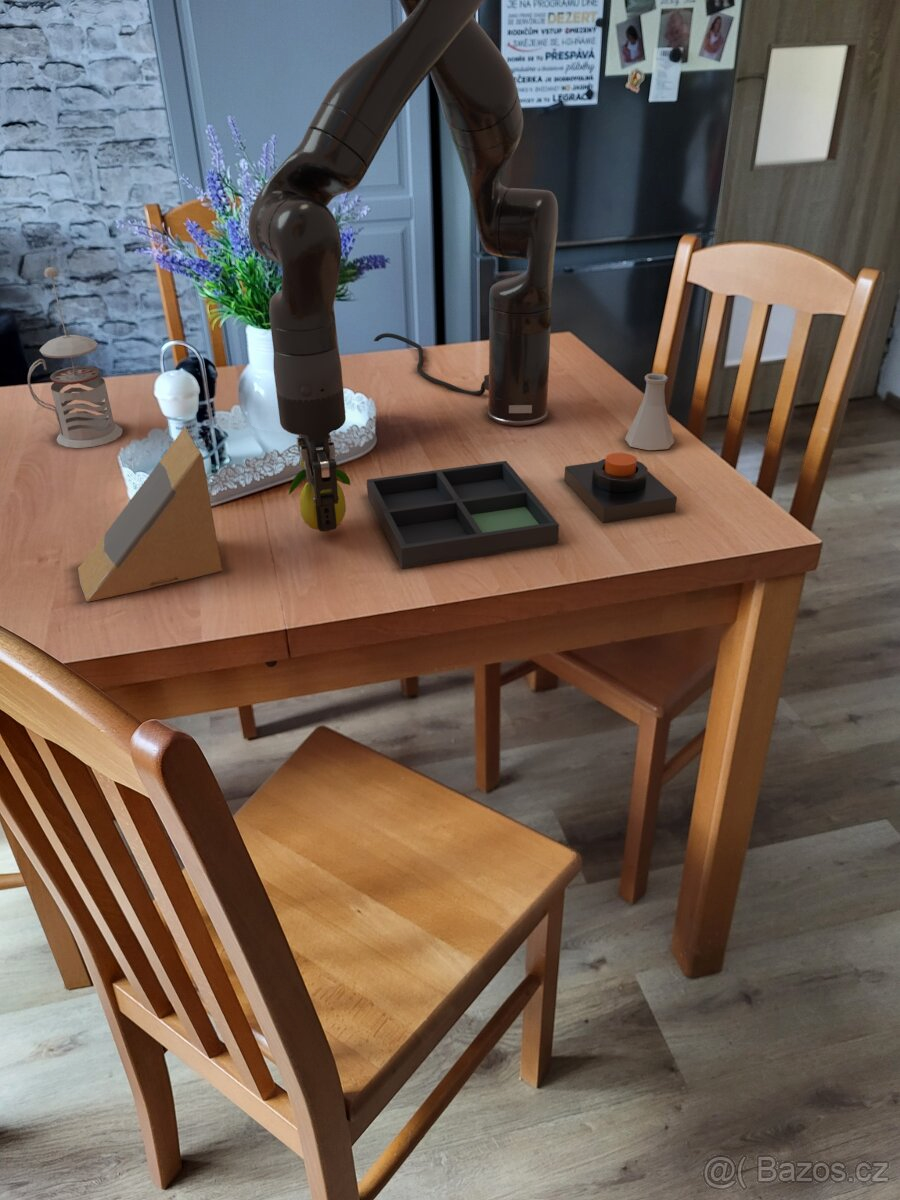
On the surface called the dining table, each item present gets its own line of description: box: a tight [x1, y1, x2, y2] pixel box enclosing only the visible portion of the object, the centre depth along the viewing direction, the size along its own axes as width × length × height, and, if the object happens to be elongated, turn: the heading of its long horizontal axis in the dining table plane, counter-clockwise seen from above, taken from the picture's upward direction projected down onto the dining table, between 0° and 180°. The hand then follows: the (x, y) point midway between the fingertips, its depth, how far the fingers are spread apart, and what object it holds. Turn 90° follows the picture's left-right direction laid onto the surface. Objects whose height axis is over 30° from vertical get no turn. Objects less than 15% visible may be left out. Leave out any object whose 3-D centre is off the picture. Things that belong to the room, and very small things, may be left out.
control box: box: [563, 458, 678, 524], centre depth 122 cm, size 13×10×4 cm
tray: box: [366, 460, 560, 570], centre depth 118 cm, size 19×19×3 cm
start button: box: [604, 452, 638, 476], centre depth 121 cm, size 4×4×2 cm
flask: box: [624, 372, 675, 451], centre depth 136 cm, size 7×7×10 cm
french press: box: [27, 266, 124, 449], centre depth 137 cm, size 10×12×25 cm
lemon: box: [288, 468, 351, 534], centre depth 113 cm, size 7×6×10 cm
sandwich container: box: [77, 426, 223, 603], centre depth 105 cm, size 9×15×15 cm, turn 115°
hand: (323, 517), depth 114 cm, fingers closed on lemon, 5 cm apart
